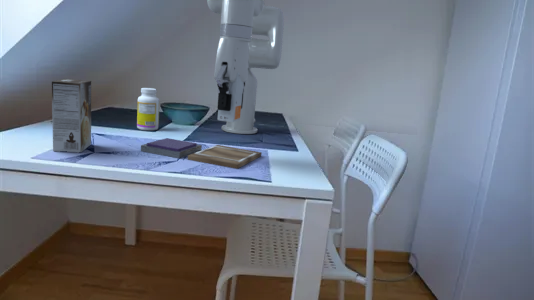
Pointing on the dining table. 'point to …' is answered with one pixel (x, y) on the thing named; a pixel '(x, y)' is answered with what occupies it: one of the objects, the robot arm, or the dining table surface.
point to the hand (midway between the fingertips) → (230, 108)
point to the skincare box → (233, 102)
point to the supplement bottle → (148, 110)
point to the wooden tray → (225, 156)
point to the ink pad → (171, 148)
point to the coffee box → (71, 115)
